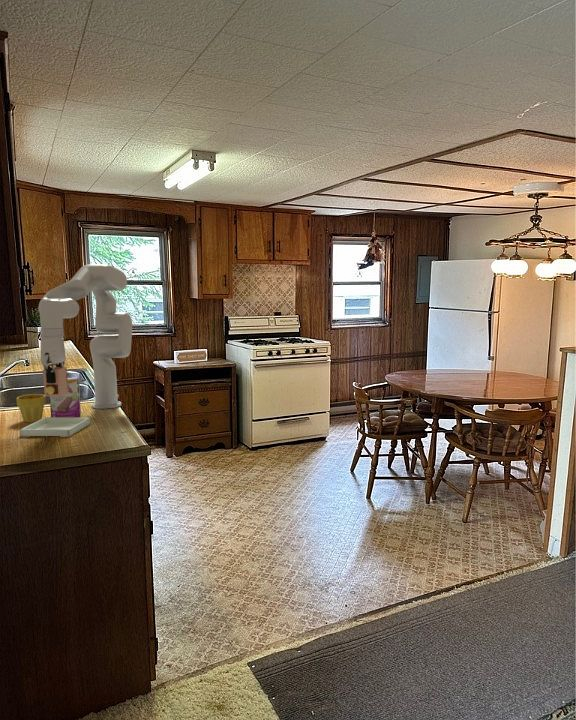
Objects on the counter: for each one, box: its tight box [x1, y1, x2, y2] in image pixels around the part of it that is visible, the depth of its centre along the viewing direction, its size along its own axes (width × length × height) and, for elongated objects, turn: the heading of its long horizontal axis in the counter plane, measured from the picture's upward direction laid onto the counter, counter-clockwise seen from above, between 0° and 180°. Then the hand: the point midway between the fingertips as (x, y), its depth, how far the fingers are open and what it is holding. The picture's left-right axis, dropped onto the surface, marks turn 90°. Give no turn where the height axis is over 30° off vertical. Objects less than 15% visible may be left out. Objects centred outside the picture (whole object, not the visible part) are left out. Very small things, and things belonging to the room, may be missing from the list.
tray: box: [19, 416, 92, 438], centre depth 194 cm, size 18×18×2 cm
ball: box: [46, 386, 55, 394], centre depth 190 cm, size 3×3×3 cm
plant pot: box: [16, 393, 47, 423], centre depth 208 cm, size 10×10×10 cm
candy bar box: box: [49, 377, 82, 418], centre depth 211 cm, size 11×5×16 cm, turn 108°
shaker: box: [42, 366, 68, 397], centre depth 193 cm, size 6×6×10 cm
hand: (55, 381), depth 193 cm, fingers closed on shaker, 6 cm apart
